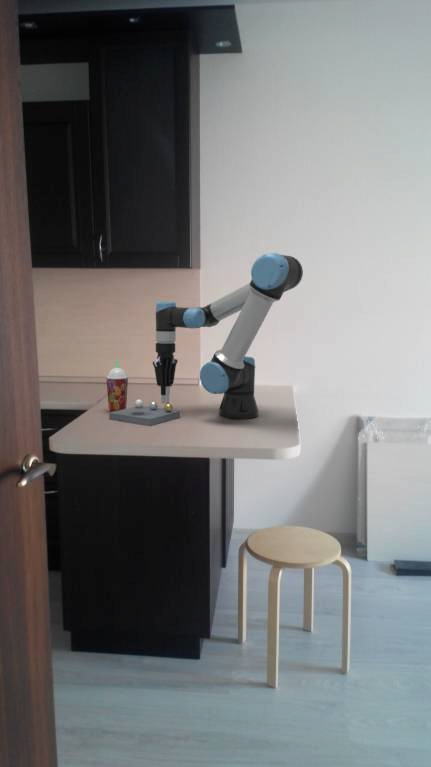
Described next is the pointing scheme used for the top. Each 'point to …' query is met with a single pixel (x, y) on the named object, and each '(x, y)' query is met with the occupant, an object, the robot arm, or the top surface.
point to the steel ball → (153, 405)
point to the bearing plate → (144, 415)
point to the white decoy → (138, 403)
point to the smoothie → (117, 389)
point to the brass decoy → (168, 407)
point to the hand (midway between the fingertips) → (165, 403)
